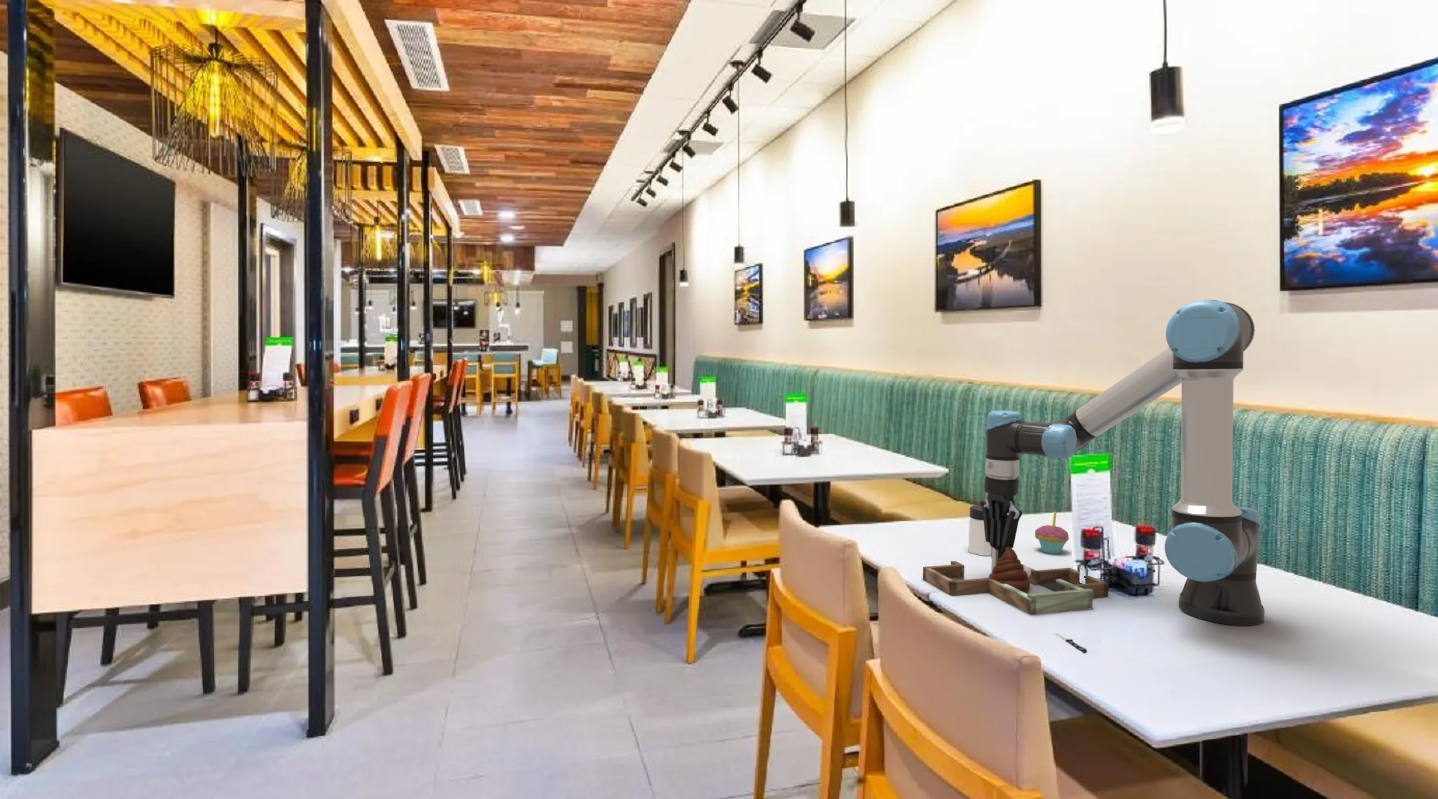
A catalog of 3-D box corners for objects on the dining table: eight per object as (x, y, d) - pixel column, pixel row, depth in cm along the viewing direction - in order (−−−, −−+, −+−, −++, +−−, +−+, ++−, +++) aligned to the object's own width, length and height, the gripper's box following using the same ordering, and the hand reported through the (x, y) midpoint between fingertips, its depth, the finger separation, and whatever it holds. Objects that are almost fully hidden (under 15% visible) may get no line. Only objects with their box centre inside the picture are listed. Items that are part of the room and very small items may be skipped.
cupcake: (1073, 556, 207) (1075, 511, 206) (1041, 555, 207) (1043, 511, 206) (1060, 547, 215) (1061, 504, 215) (1029, 547, 216) (1030, 504, 215)
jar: (1007, 553, 209) (1009, 508, 209) (990, 558, 204) (992, 513, 203) (977, 546, 216) (979, 503, 215) (960, 550, 211) (962, 507, 210)
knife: (1093, 654, 143) (1094, 649, 143) (1082, 655, 142) (1083, 650, 142) (1025, 618, 161) (1025, 613, 161) (1015, 619, 160) (1015, 614, 160)
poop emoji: (980, 582, 183) (981, 543, 183) (1011, 580, 186) (1013, 541, 185) (1006, 596, 174) (1008, 554, 173) (1039, 593, 176) (1041, 552, 175)
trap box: (1127, 605, 168) (1128, 587, 168) (991, 618, 159) (992, 599, 159) (1036, 566, 197) (1036, 550, 197) (916, 575, 188) (917, 559, 188)
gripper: (971, 472, 188) (968, 568, 190) (1004, 482, 176) (1001, 584, 178) (998, 471, 190) (995, 566, 192) (1033, 480, 178) (1029, 582, 180)
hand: (998, 574), depth 185 cm, fingers closed
